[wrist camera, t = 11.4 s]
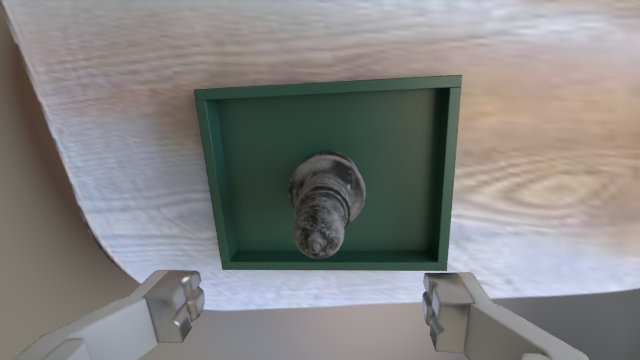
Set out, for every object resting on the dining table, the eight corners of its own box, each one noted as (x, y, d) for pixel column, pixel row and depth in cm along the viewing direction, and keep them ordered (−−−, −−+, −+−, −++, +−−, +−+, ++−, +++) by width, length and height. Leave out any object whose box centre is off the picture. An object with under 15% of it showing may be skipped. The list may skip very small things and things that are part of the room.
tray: (208, 89, 25) (193, 89, 22) (450, 76, 23) (462, 74, 21) (232, 254, 29) (222, 269, 27) (437, 254, 27) (446, 270, 25)
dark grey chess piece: (295, 210, 27) (256, 298, 15) (295, 145, 25) (252, 189, 14) (360, 213, 26) (372, 307, 15) (365, 148, 25) (382, 196, 13)
